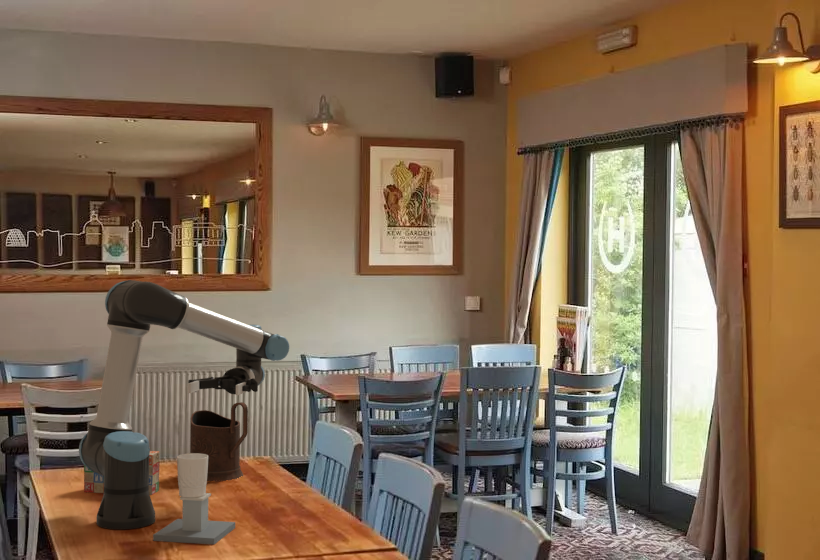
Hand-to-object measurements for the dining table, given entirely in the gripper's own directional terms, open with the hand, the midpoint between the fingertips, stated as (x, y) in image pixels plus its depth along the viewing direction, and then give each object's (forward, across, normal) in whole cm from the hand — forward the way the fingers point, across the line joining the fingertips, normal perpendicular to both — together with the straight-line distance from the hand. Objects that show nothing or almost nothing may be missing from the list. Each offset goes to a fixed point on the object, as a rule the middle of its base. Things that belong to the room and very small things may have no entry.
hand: (213, 389), depth 281 cm
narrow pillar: (+18, -2, -35) cm, 39 cm away
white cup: (+18, -1, -25) cm, 31 cm away
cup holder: (-49, +15, -35) cm, 62 cm away
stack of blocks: (-23, +37, -35) cm, 56 cm away
